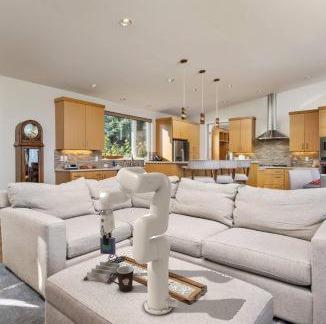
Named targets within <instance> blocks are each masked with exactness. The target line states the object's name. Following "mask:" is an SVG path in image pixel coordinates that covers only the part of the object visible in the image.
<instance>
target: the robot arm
mask: <svg viewBox="0 0 326 324" xmlns="http://www.w3.org/2000/svg"><path fill="white" fill-rule="evenodd" d="M116 181H117V183H118V189H116V190H111V189H101V190H99V194H98V198H99V199H98V201H99V233H100V236H101V237H102V238H103V245H109V239H108V238H113V231H114V230H115V229H116V228H115V227H116V224H115V216H114V215H115V214H114V205H118V204H119V205H120V204H125V203H127V202H128V201H129V200H131V199H132V198H133V196H134V194H147V193H152V192H153V193H154V194H153V196H152V197H151V200H150V203H149V212H148V214H144V215H141V216H139V217H137V218H136V220H135V221H134V223H133V229H132V232H133V233H132V248H131V249H132V257H133V259H134V261H135V262H136V264H139V265H145V264H147V266H146V277H147V278H146V281H147V285H146V286H147V299H146V300H145V301H144V304H143V305H144V309H145V311H146V312H147V313H149V314H151V315H154V316H155V315H156V316H158V315H159V316H161V315H166V314H168V313H169V312H171V311H172V310H173V308H179V301H178V299H176V298H175V299H173V298H172V296H171V295H172V294H170V284H169V280H170V279H169V260H170V255H171V243H170V240H169V239H168V238H167V236H164V235H163V234H165V233H167V231H168V229H169V220H170V204H171V198H172V193H173V192H172V191H173V187H172V185H173V184H172V182H171V179H170V178H169V176H167V175H166V174H165V173H163V172H157V171H156V172H155V171H154V172H147V171H146V169H145V168H143V167H140V166H125V167H122V168H119V170H118V172H117V174H116ZM108 235H109V237H108Z"/></svg>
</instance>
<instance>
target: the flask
mask: <svg viewBox="0 0 326 324" xmlns="http://www.w3.org/2000/svg"><path fill="white" fill-rule="evenodd" d="M108 237H109V235H108ZM108 239H109V245H103V238H102V236H101V237H100V238H99V248H100V249H99V252H100V254H101V255H116V254H117V248H116V246H117V245H116V237H112V238H108Z"/></svg>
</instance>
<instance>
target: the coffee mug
mask: <svg viewBox="0 0 326 324" xmlns="http://www.w3.org/2000/svg"><path fill="white" fill-rule="evenodd" d="M134 269H135V268H134V267H133V266H130V265H123V266H120V267H119V268H118V269H117V271H116V272H117V274H116V273H112V274H110V276H109V278H108V279H110V280H111V282H112V283H114V284H116V285H117V286H118V290H119V292H120V293H121V292H122V293H129V292H131V291H132V290H133V283H134V282H133V281H134ZM114 274H115V275H116V277H117V281H115V280H114V279H113V280H112V279H111V278H110V277H111V275H112V276H113V275H114Z"/></svg>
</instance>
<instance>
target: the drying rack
mask: <svg viewBox="0 0 326 324" xmlns="http://www.w3.org/2000/svg"><path fill="white" fill-rule="evenodd" d="M120 265H121V264H120V263H114V262H105V261H100V262H99V264H96V265H95V268H91V271H87V272H86V276H85V277H83V281H95V282H102V283H106V284H108V285H109V284H110V283H111V282H112V281H111V280H110V278H111V279H112V280H113V281H114V280H115V278H116V277H117V276H116V275H115V274H112V273H116V274H117V269H118V268H119V267H121V266H120ZM110 274H112V275H111V277H110V278H109V276H110Z"/></svg>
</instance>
